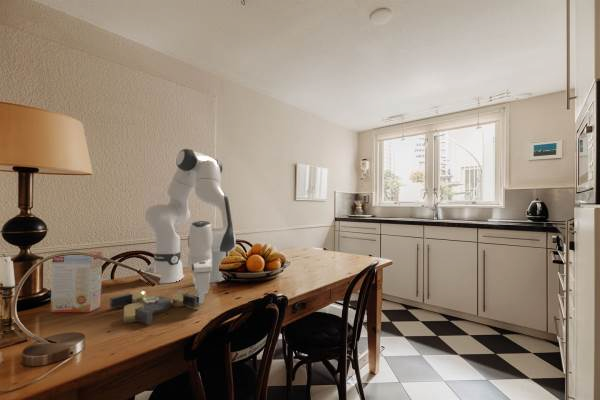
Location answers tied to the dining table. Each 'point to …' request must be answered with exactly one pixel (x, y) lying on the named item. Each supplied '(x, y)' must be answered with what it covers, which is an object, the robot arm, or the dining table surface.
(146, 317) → the knob front
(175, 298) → the knob left
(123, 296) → the knob back
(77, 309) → the cracker box
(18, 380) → the dining table surface
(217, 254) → the tall pale column
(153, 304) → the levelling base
